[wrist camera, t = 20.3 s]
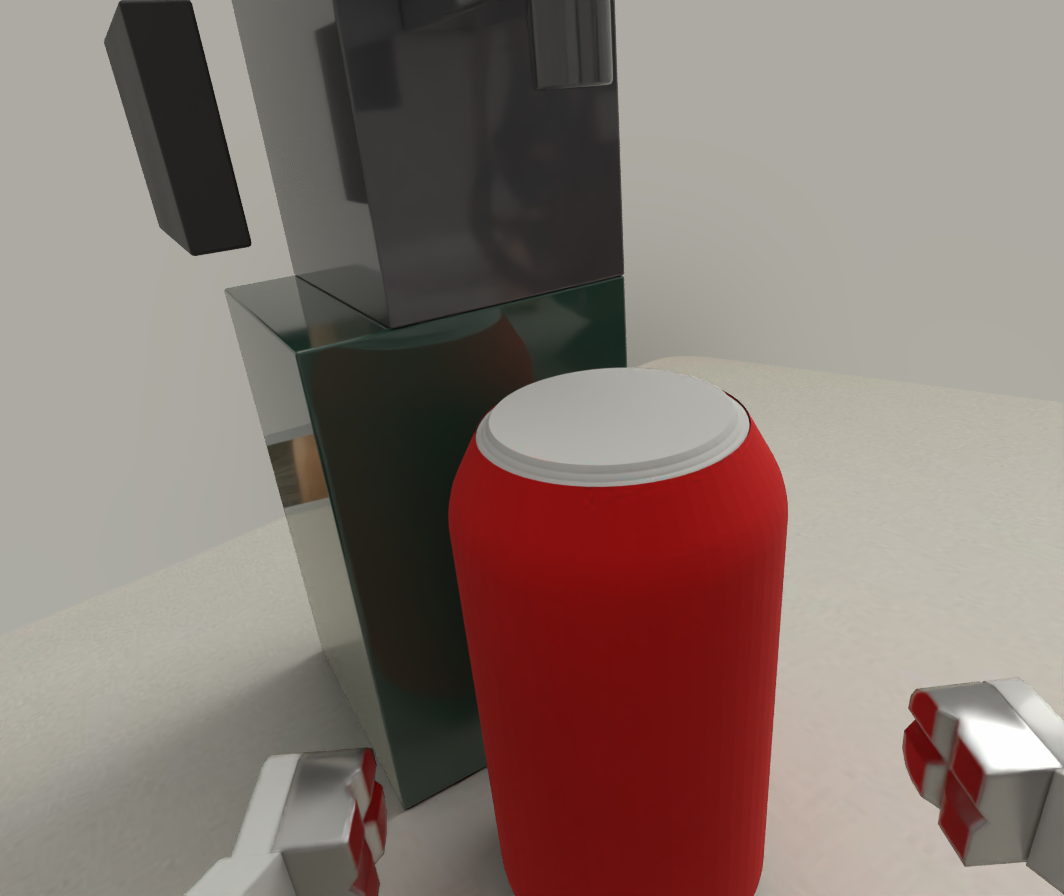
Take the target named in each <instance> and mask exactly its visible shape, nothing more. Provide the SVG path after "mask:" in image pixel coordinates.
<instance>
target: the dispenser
mask: <svg viewBox="0 0 1064 896" xmlns="http://www.w3.org/2000/svg"><path fill="white" fill-rule="evenodd" d="M232 4H233V8H234V13H235V17H236V21H237V25H238V30H239V35H240V39H241V43H242V47H243V52H244V56H245V61H246V65H247V69H248V74H249V78H250V82H251V87H252V91H253V96H254V100H255V104H256V109H257V113H258V118H259V122H260V126H261V131H262V135H263V139H264V144H265V148H266V152H267V157H268V161H269V165H270V169H271V174H272V178H273V183H274V187H275V192H276V196H277V200H278V205H279V209H280V214H281V218H282V222H283V227H284V231H285V235H286V239H287V244H288V248H289V253H290V257H291V261H292V266H293V270H294V274H295V276H290V277H285V278H280V279H275V280H269V281H264V282H258V283H253V284H248V285H242V286H237V287H232V288H227V289H225V295H226V299H227V302H228V306H229V309H230V313H231V317H232V321H233V324H234V328H235V332H236V335H237V339H238V343H239V346H240V350H241V354H242V357H243V361H244V365H245V368H246V372H247V376H248V379H249V383H250V386H251V390H252V394H253V397H254V401H255V405H256V409H257V412H258V416H259V420H260V423H261V427H262V431H263V434H264V438H265V442H266V445H267V449H268V453H269V456H270V460H271V464H272V467H273V471H274V475H275V478H276V482H277V486H278V489H279V493H280V496H281V500H282V504H283V507H284V511H285V515H286V519H287V522H288V526H289V530H290V533H291V537H292V541H293V544H294V548H295V552H296V555H297V559H298V563H299V566H300V570H301V574H302V577H303V581H304V585H305V588H306V592H307V596H308V599H309V603H310V606H311V610H312V614H313V617H314V621H315V625H316V628H317V632H318V636H319V639H320V643H321V647H322V650H323V652H324V654H325V656H326V657H327V659H328V661H329V663H330V665H331V667H332V669H333V671H334V673H335V675H336V677H337V679H338V681H339V683H340V685H341V687H342V689H343V691H344V693H345V695H346V697H347V699H348V700H349V702H350V704H351V706H352V708H353V710H354V712H355V714H356V716H357V718H358V720H359V722H360V724H361V726H362V728H363V730H364V732H365V734H366V736H367V738H368V740H369V741H370V743H371V745H372V747H373V749H374V751H375V753H376V755H377V757H378V759H379V761H380V763H381V765H382V767H383V769H384V771H385V773H386V775H387V777H388V779H389V781H390V783H391V784H392V786H393V788H394V790H395V792H396V794H397V796H398V798H399V800H400V802H401V804H402V806H403V808H404V809H408V808H410V807H412V806H414V805H415V804H417V803H419V802H421V801H423V800H425V799H427V798H428V797H430V796H432V795H434V794H436V793H438V792H439V791H441V790H443V789H445V788H447V787H449V786H451V785H452V784H454V783H456V782H458V781H460V780H462V779H464V778H465V777H467V776H469V775H471V774H473V773H475V772H477V771H478V770H480V769H482V768H484V767H486V766H487V760H486V754H485V748H484V742H483V736H482V730H481V723H480V717H479V711H478V705H477V699H476V692H475V686H474V680H473V674H472V668H471V662H470V655H469V649H468V643H467V637H466V631H465V625H464V618H463V612H462V606H461V600H460V594H459V587H458V581H457V575H456V569H455V563H454V557H453V550H452V544H451V538H450V532H449V517H448V512H449V501H450V495H451V489H452V485H453V481H454V478H455V476H456V473H457V471H458V468H459V466H460V464H461V461H462V459H463V457H464V455H465V452H466V450H467V448H468V446H469V443H470V441H471V439H472V437H473V434H474V432H475V430H476V427H477V425H478V423H479V422H480V420H481V419H482V417H483V416H484V415H485V414H486V413H487V412H488V411H489V410H490V409H492V408H493V407H494V406H496V405H497V404H498V403H499V402H500V401H502V400H503V399H504V398H505V397H507V396H508V395H510V394H511V393H513V392H515V391H516V390H519V389H521V388H523V387H525V386H527V385H530V384H532V383H535V382H538V381H540V380H544V379H547V378H550V377H554V376H558V375H563V374H567V373H573V372H579V371H585V370H593V369H605V368H627V347H626V322H625V321H626V319H625V290H624V277H623V276H621V275H623V274H624V255H623V226H622V200H621V170H620V140H619V113H618V83H617V55H616V26H615V0H232Z"/></svg>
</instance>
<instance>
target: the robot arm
mask: <svg viewBox="0 0 1064 896" xmlns="http://www.w3.org/2000/svg"><path fill="white" fill-rule="evenodd" d="M908 709H909V710H910V712H911V713H912V715H913V716H914V718H915V720H914V721H913V722H912V723H911V724H910V725H909V726H908V727H907V728H906V729H905V730H904V738H903V746H902V749H903V754H904V760H905V765H906V768H907V771H908V773H909V775H910V778H911V780H912V782H913V784H914V786H915V787H916V789H917V791H918V792H919V794H920V796H921V797H923V798H924V799H926V800H927V801H929V802H930V803H932V804H933V805H935V806H936V807H938V808H939V809H940V813H939V820H938V825H939V826H940V828H941V830H942V831H943V833H944V834H945V836H946V838H947V839H948V841H949V842H950V844H951V845H952V847H953V849H954V850H955V852H956V853H957V855H958V857H959V858H960V860H961V861H962V863H963V865H964V866H965V867H967V866H980V865H993V864H1006V863H1019V862H1027V863H1026V866H1028V867H1029V868H1030V869H1032V870H1033V871H1034V872H1035V873H1037V874H1038V875H1039V876H1041V877H1042V878H1043V879H1045V880H1046V881H1047V882H1048V883H1050V884H1051V885H1052V886H1054V887H1055V888H1056V889H1058V890H1059V891H1060V892H1061V893H1063V894H1064V721H1063V720H1062V719H1061V718H1060V717H1059V716H1058V715H1057V714H1056V712H1055V711H1054V710H1053V709H1052V708H1051V707H1050V706H1049V705H1048V704H1047V703H1046V702H1045V701H1044V700H1043V699H1042V698H1041V696H1040V695H1039V694H1038V693H1037V692H1036V691H1035V690H1034V689H1033V688H1032V687H1031V686H1030V685H1029V684H1028V683H1027V682H1026V681H1024V680H1022V679H1020V678H1018V677H1017V678H1008V679H999V680H990V681H983V682H971V683H962V684H954V685H945V686H937V687H928V688H919V689H916V690H915V691H914V692H913V694H912V695H911V697H910V702H909V707H908ZM376 767H377V763H376V760H375V756H374V753H373V750H372V749H371V748H368V747H367V748H355V749H342V750H330V751H317V752H304V753H299V754H287V755H274V756H269V757H268V759H267V760H266V761H265V763H264V764H263V765H262V768H261V771H260V773H259V776H258V779H257V782H256V785H255V788H254V791H253V793H252V796H251V799H250V802H249V805H248V808H247V811H246V813H245V816H244V819H243V822H242V825H241V828H240V831H239V833H238V836H237V839H236V842H235V845H234V848H233V851H232V853H231V856H230V857H229V858H221V859H219V860H218V861H217V862H216V863H215V864H214V865H213V866H212V867H211V868H210V869H209V870H208V871H207V872H206V873H205V874H204V875H203V876H202V877H201V878H200V879H199V880H198V881H197V882H196V883H195V884H194V885H193V886H192V887H191V888H190V889H189V890H188V891H187V892H186V893H185V894H184V895H183V896H378V893H379V886H380V882H379V878H378V874H377V871H376V867H375V864H376V863H377V862H378V861H379V859H380V858H381V857H382V856H383V854H384V851H385V843H386V835H387V809H386V801H385V795H384V791H383V787H382V785H381V784H379V783H378V782H376V781H375V780H374V779H375V773H376Z"/></svg>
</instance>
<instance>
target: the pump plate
mask: <svg viewBox="0 0 1064 896" xmlns="http://www.w3.org/2000/svg"><path fill="white" fill-rule="evenodd" d="M104 44H105V47H106V50H107V54H108V57H109V60H110V64H111V67H112V70H113V73H114V77H115V80H116V84H117V87H118V90H119V93H120V97H121V100H122V104H123V107H124V110H125V114H126V117H127V120H128V123H129V127H130V130H131V134H132V137H133V140H134V143H135V147H136V150H137V153H138V157H139V160H140V164H141V167H142V170H143V174H144V177H145V180H146V184H147V187H148V190H149V193H150V197H151V200H152V203H153V207H154V210H155V213H156V217H157V220H158V223H159V226H160V228H161V229H162V230H163V231H164V232H166V233H167V234H168V235H169V236H170V237H171V238H172V239H174V240H175V241H176V242H177V243H178V244H179V245H181V246H182V247H183V248H184V249H185V250H186V251H188V252H189V253H190V254H191V255H193V256H198V255H203V254H210V253H215V252H222V251H228V250H234V249H239V248H246V247H249V246H251V239H250V235H249V231H248V227H247V223H246V219H245V215H244V211H243V207H242V203H241V199H240V195H239V191H238V187H237V183H236V179H235V175H234V171H233V167H232V163H231V159H230V155H229V151H228V147H227V142H226V139H225V135H224V130H223V127H222V123H221V119H220V115H219V111H218V106H217V103H216V99H215V95H214V90H213V86H212V82H211V79H210V74H209V71H208V67H207V62H206V58H205V54H204V50H203V47H202V42H201V39H200V34H199V30H198V26H197V22H196V19H195V14H194V10H193V6H192V3H191V2H190V0H121V1H120V2H119V4H118V6H117V9H116V11H115V14H114V17H113V19H112V22H111V25H110V27H109V30H108V32H107V35H106V38H105V42H104Z"/></svg>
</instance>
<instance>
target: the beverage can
mask: <svg viewBox="0 0 1064 896" xmlns="http://www.w3.org/2000/svg"><path fill="white" fill-rule="evenodd" d="M448 517H449V532H450V538H451V544H452V550H453V557H454V563H455V569H456V575H457V581H458V587H459V594H460V600H461V606H462V612H463V618H464V625H465V631H466V637H467V643H468V649H469V655H470V662H471V668H472V674H473V680H474V686H475V692H476V699H477V705H478V711H479V717H480V723H481V730H482V736H483V742H484V748H485V754H486V760H487V767H488V773H489V779H490V785H491V791H492V798H493V804H494V810H495V816H496V822H497V828H498V835H499V841H500V847H501V853H502V858H503V863H504V868H505V871H506V874H507V877H508V881H509V883H510V885H511V888H512V890H513V892H514V894H515V896H754V894H755V892H756V890H757V887H758V883H759V880H760V876H761V872H762V865H763V858H764V844H765V830H766V816H767V802H768V788H769V774H770V760H771V746H772V732H773V718H774V704H775V690H776V676H777V662H778V648H779V634H780V620H781V606H782V592H783V578H784V564H785V550H786V536H787V522H788V502H787V495H786V489H785V485H784V481H783V477H782V474H781V471H780V468H779V466H778V464H777V462H776V460H775V458H774V456H773V454H772V452H771V451H770V449H769V447H768V445H767V444H766V442H765V440H764V439H763V437H762V435H761V433H760V432H759V430H758V428H757V427H756V425H755V423H754V421H753V420H752V418H751V416H750V415H749V413H748V411H747V410H746V408H745V407H744V406H743V405H742V404H741V403H740V402H739V401H738V400H737V399H736V398H734V397H733V396H732V395H730V394H728V393H726V392H725V391H723V390H721V389H720V388H718V387H716V386H715V385H713V384H711V383H709V382H707V381H705V380H702V379H699V378H696V377H693V376H690V375H686V374H682V373H678V372H672V371H666V370H658V369H648V368H605V369H593V370H585V371H579V372H573V373H567V374H563V375H558V376H554V377H550V378H547V379H544V380H540V381H538V382H535V383H532V384H530V385H527V386H525V387H523V388H521V389H519V390H516V391H515V392H513V393H511V394H510V395H508V396H507V397H505V398H504V399H503V400H502V401H500V402H499V403H498V404H497V405H496V406H494V407H493V408H492V409H490V410H489V411H488V412H487V413H486V414H485V415H484V416H483V417H482V419H481V420H480V422H479V423H478V425H477V427H476V430H475V432H474V434H473V437H472V439H471V441H470V443H469V446H468V448H467V450H466V452H465V455H464V457H463V459H462V461H461V464H460V466H459V468H458V471H457V473H456V476H455V478H454V481H453V485H452V489H451V495H450V501H449V512H448Z"/></svg>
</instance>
